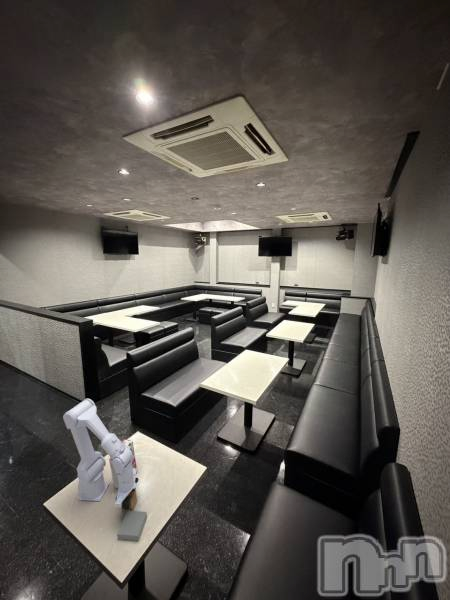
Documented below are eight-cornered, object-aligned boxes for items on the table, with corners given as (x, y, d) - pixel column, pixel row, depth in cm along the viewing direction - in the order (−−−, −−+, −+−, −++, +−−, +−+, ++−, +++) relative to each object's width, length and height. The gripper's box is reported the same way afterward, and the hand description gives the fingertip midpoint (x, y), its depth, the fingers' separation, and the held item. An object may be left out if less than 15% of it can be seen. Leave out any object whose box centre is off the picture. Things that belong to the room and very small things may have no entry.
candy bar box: (127, 466, 117) (124, 438, 113) (137, 467, 116) (133, 440, 112) (113, 488, 106) (108, 458, 102) (123, 490, 105) (118, 460, 101)
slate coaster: (117, 540, 88) (116, 534, 87) (128, 516, 96) (127, 510, 95) (138, 541, 87) (137, 535, 87) (147, 517, 95) (146, 511, 94)
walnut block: (121, 510, 97) (120, 501, 95) (126, 499, 101) (125, 489, 100) (132, 511, 96) (130, 502, 95) (137, 499, 101) (135, 490, 99)
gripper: (126, 495, 88) (130, 522, 91) (142, 460, 102) (145, 485, 105) (108, 494, 88) (112, 521, 91) (126, 459, 102) (130, 484, 105)
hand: (129, 502), depth 98 cm, fingers closed on walnut block, 4 cm apart
